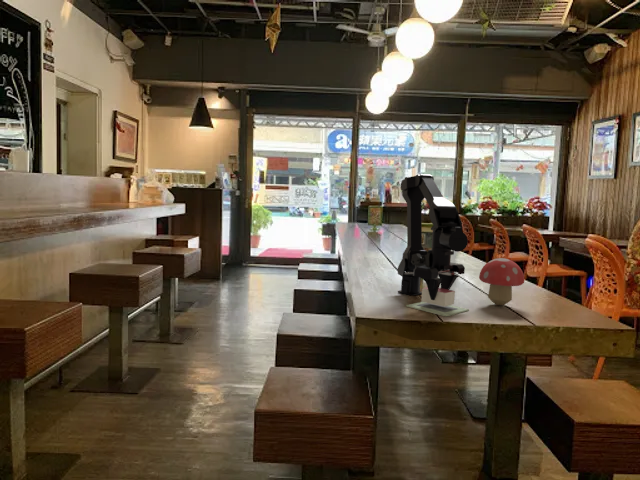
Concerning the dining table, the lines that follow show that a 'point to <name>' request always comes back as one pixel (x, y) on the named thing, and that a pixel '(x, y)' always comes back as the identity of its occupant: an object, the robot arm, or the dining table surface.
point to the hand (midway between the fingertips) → (437, 298)
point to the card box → (439, 297)
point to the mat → (437, 308)
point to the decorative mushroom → (501, 279)
